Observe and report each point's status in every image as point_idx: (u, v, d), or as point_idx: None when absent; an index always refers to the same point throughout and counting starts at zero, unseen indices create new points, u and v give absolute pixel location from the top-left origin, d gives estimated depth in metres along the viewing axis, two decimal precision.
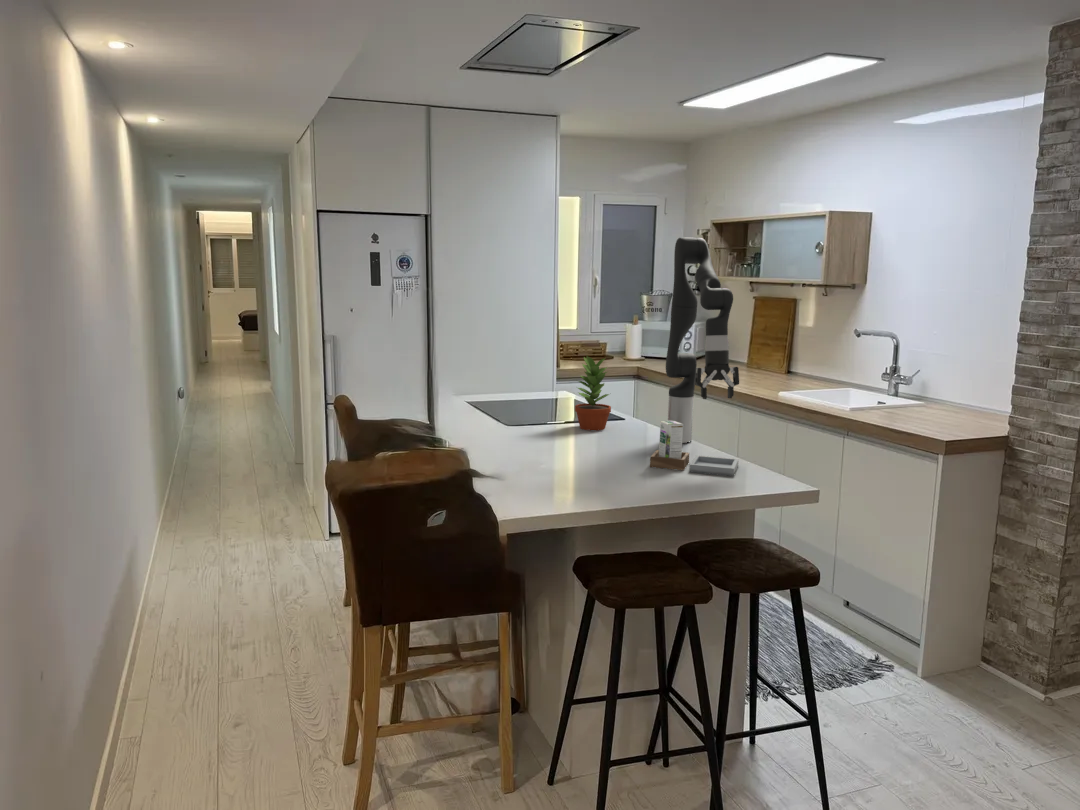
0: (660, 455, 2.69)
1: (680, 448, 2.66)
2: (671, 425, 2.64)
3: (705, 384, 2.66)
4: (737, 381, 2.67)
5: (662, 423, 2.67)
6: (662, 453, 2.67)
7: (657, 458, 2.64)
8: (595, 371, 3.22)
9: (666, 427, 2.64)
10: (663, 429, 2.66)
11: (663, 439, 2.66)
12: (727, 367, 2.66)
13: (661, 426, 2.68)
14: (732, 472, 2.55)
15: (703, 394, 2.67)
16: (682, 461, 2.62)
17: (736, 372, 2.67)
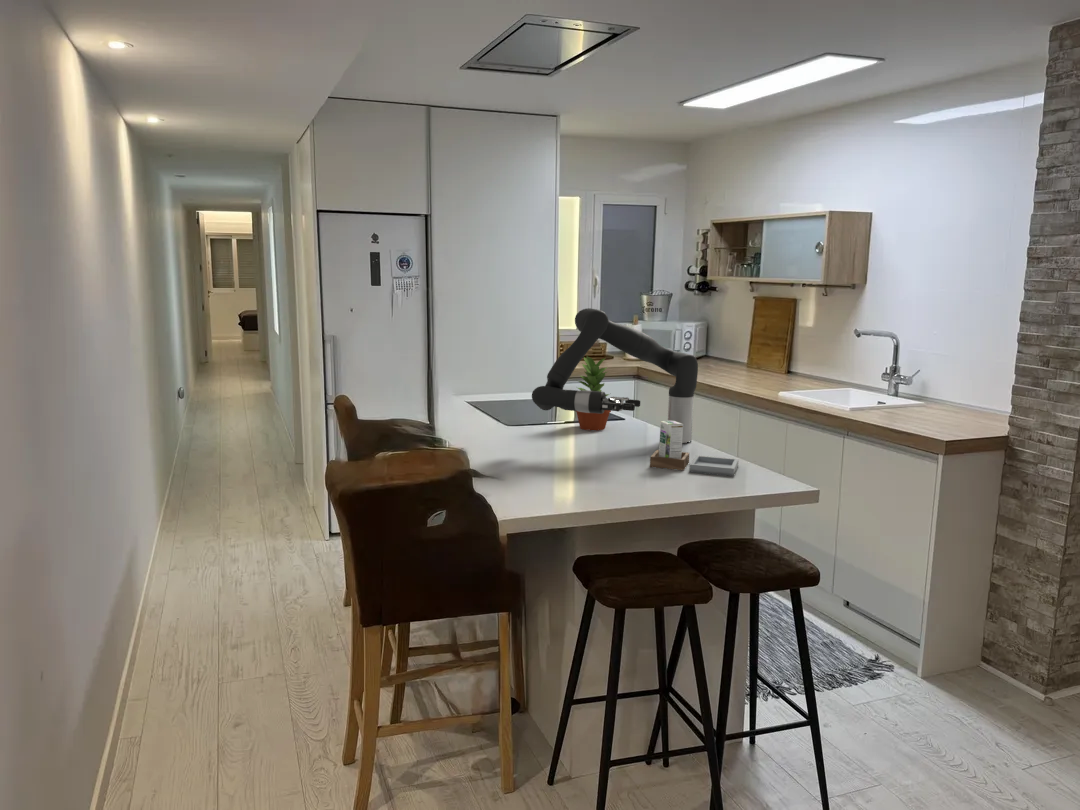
0: (660, 455, 2.69)
1: (680, 448, 2.66)
2: (671, 425, 2.64)
3: None
4: None
5: (662, 423, 2.67)
6: (662, 453, 2.67)
7: (657, 458, 2.64)
8: (595, 371, 3.22)
9: (666, 427, 2.64)
10: (663, 429, 2.66)
11: (663, 439, 2.66)
12: None
13: (661, 426, 2.68)
14: (732, 472, 2.55)
15: None
16: (682, 461, 2.62)
17: None
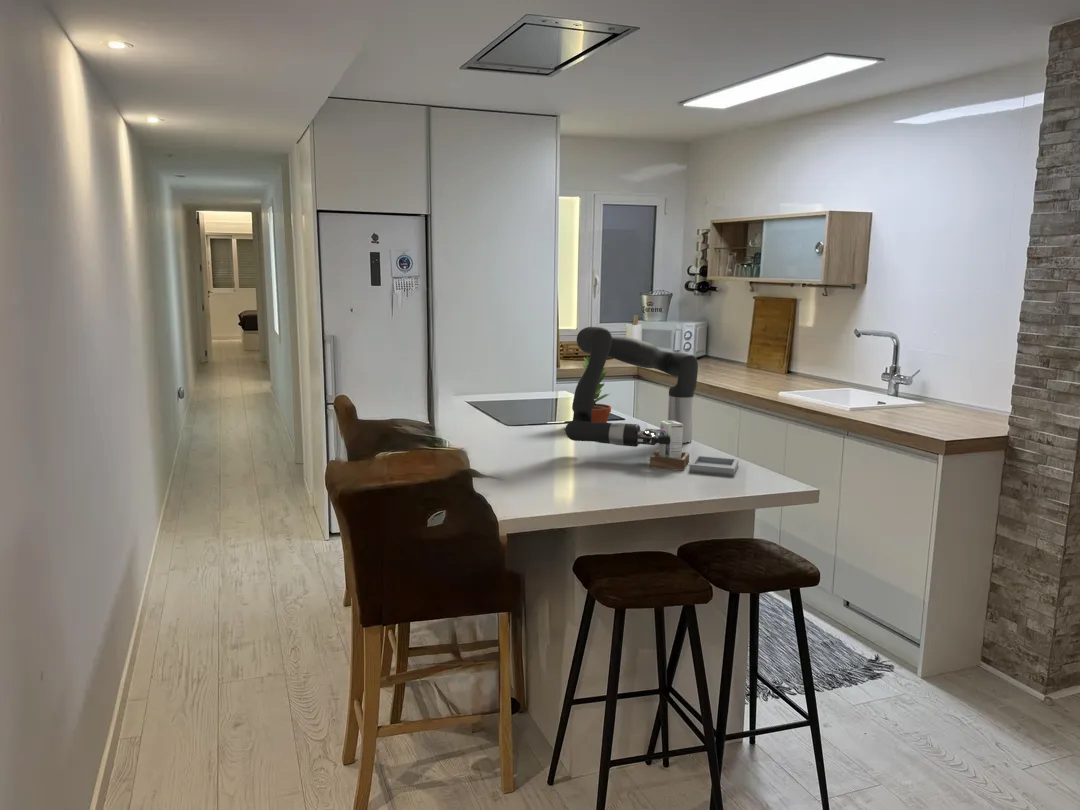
0: (660, 455, 2.69)
1: (680, 448, 2.66)
2: (671, 425, 2.64)
3: None
4: None
5: (662, 423, 2.67)
6: (662, 453, 2.67)
7: (657, 458, 2.64)
8: None
9: (666, 427, 2.64)
10: (663, 429, 2.66)
11: None
12: None
13: (661, 426, 2.68)
14: (732, 472, 2.55)
15: None
16: (682, 461, 2.62)
17: None
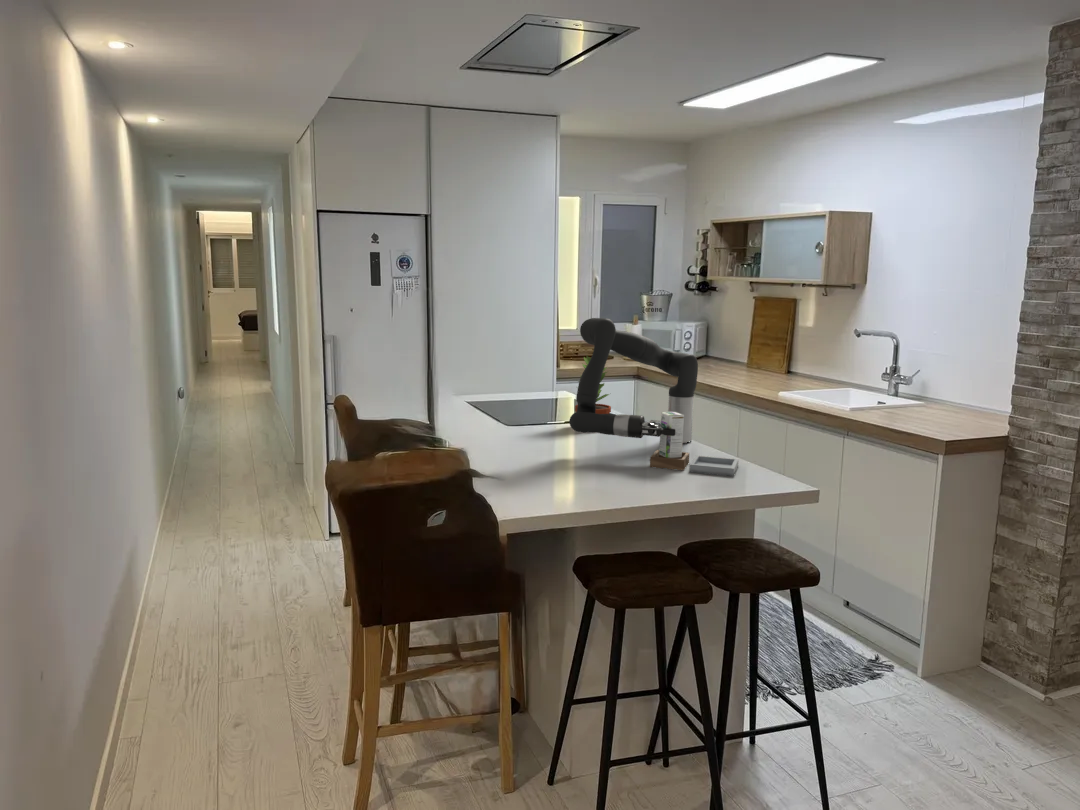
0: (661, 446, 2.68)
1: (681, 439, 2.66)
2: (672, 416, 2.63)
3: None
4: None
5: (663, 414, 2.66)
6: (663, 444, 2.67)
7: (657, 458, 2.64)
8: None
9: (667, 418, 2.64)
10: (664, 420, 2.66)
11: None
12: None
13: (661, 417, 2.67)
14: (732, 472, 2.55)
15: None
16: (682, 461, 2.62)
17: None
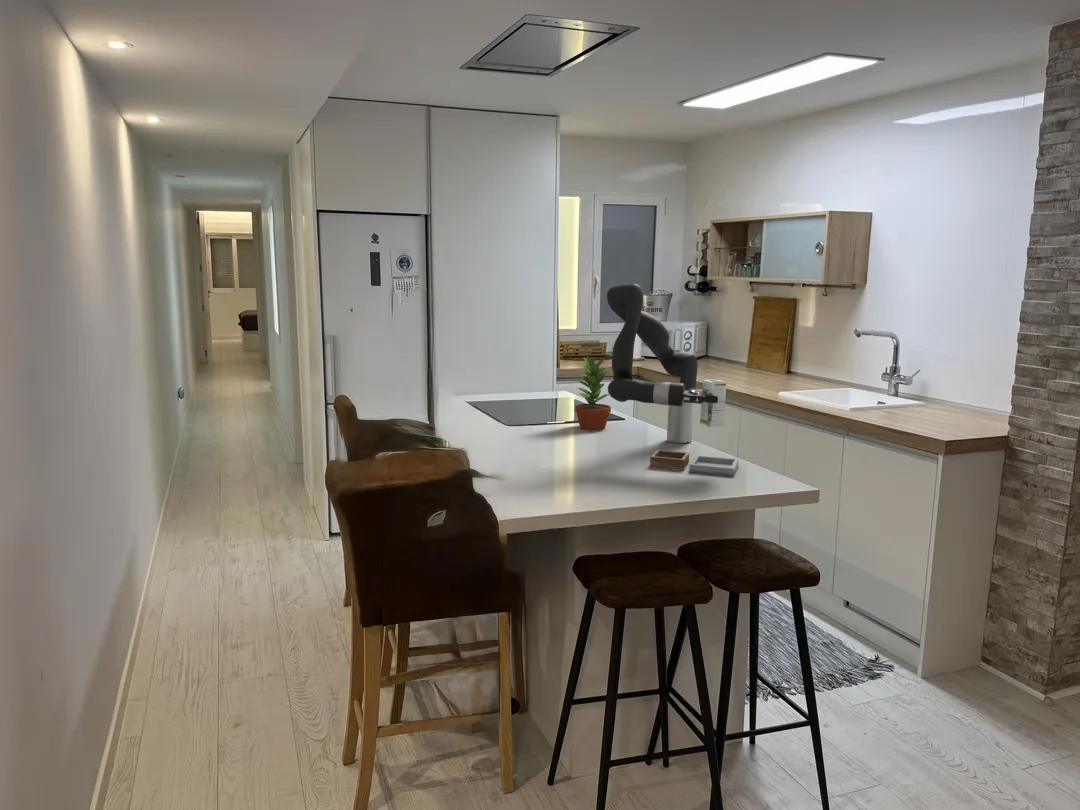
0: (702, 414, 2.62)
1: (723, 407, 2.59)
2: (714, 383, 2.57)
3: None
4: None
5: (705, 381, 2.60)
6: (704, 412, 2.60)
7: (657, 458, 2.64)
8: (595, 371, 3.22)
9: (709, 385, 2.57)
10: (706, 387, 2.59)
11: None
12: None
13: (703, 385, 2.61)
14: (732, 472, 2.55)
15: None
16: (682, 461, 2.62)
17: None
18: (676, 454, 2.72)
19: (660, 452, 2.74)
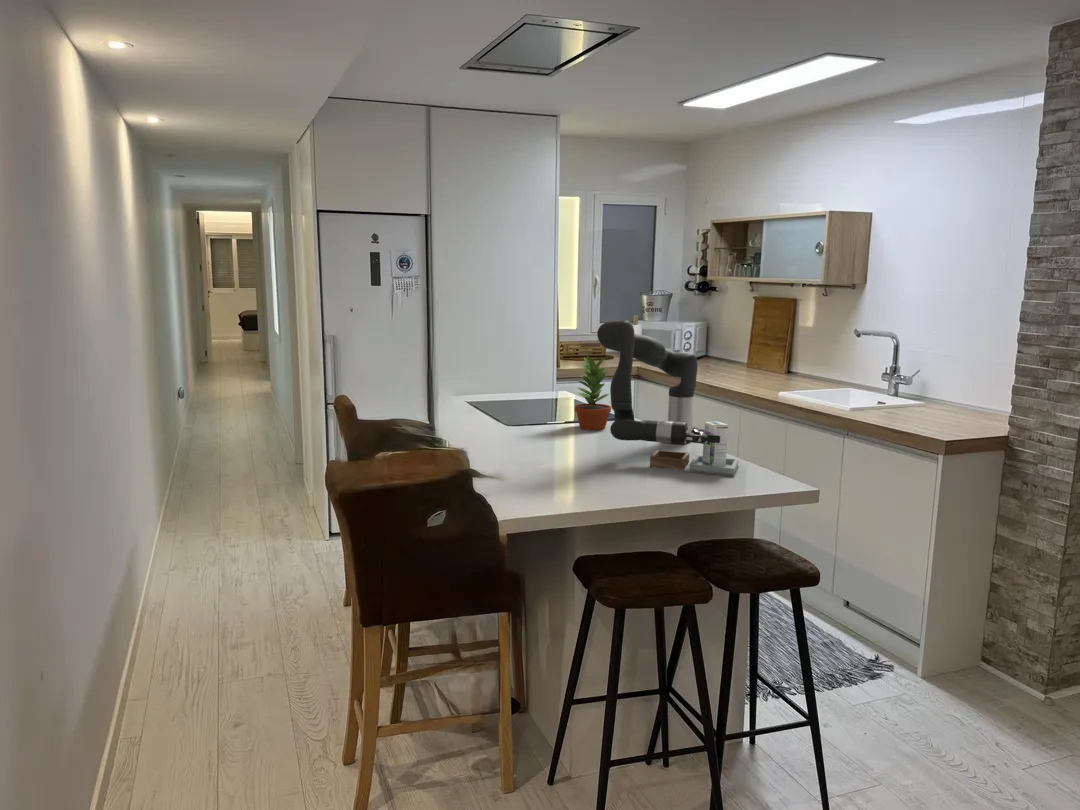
0: (704, 456, 2.64)
1: (725, 450, 2.61)
2: (716, 426, 2.59)
3: None
4: None
5: (707, 424, 2.62)
6: (706, 455, 2.63)
7: (657, 458, 2.64)
8: (595, 371, 3.22)
9: (711, 428, 2.60)
10: (708, 430, 2.61)
11: None
12: None
13: (705, 427, 2.63)
14: (732, 472, 2.55)
15: None
16: (682, 461, 2.62)
17: None
18: (676, 454, 2.72)
19: (660, 452, 2.74)
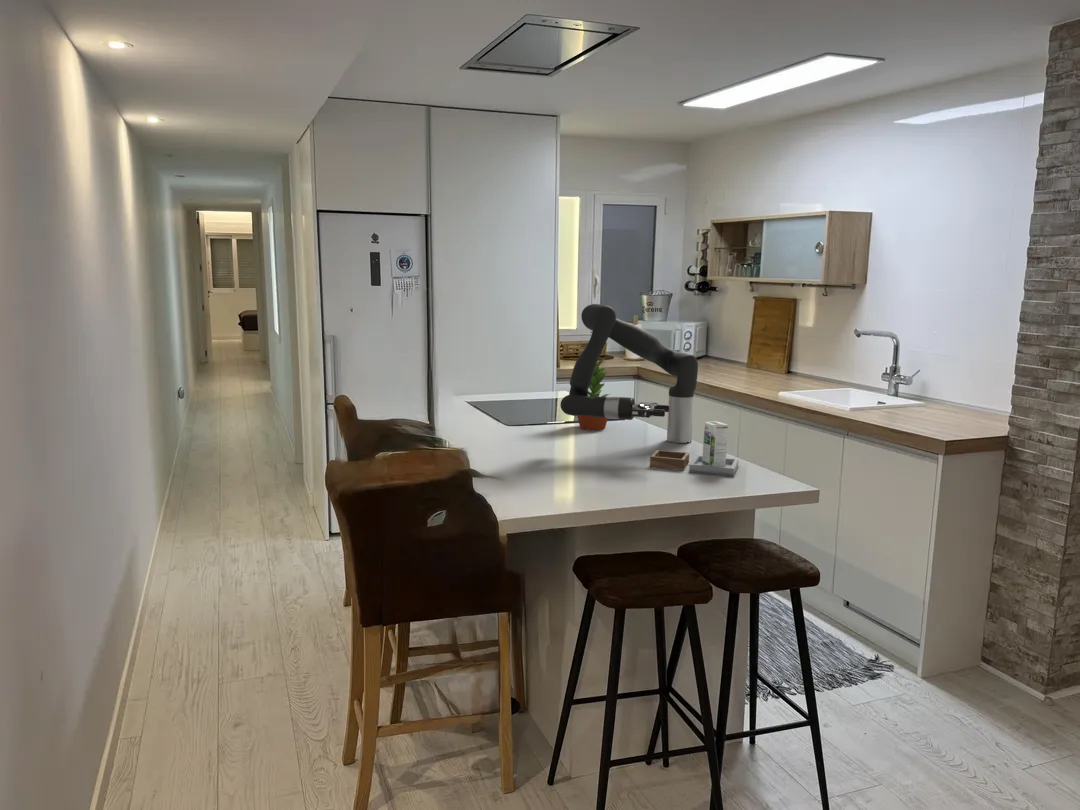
0: (704, 456, 2.64)
1: (725, 450, 2.61)
2: (716, 426, 2.59)
3: None
4: None
5: (706, 424, 2.62)
6: (706, 455, 2.63)
7: (657, 458, 2.64)
8: (595, 371, 3.22)
9: (711, 428, 2.60)
10: (708, 430, 2.61)
11: (707, 441, 2.62)
12: None
13: (705, 427, 2.63)
14: (732, 472, 2.55)
15: None
16: (682, 461, 2.62)
17: None
18: (676, 454, 2.72)
19: (660, 452, 2.74)
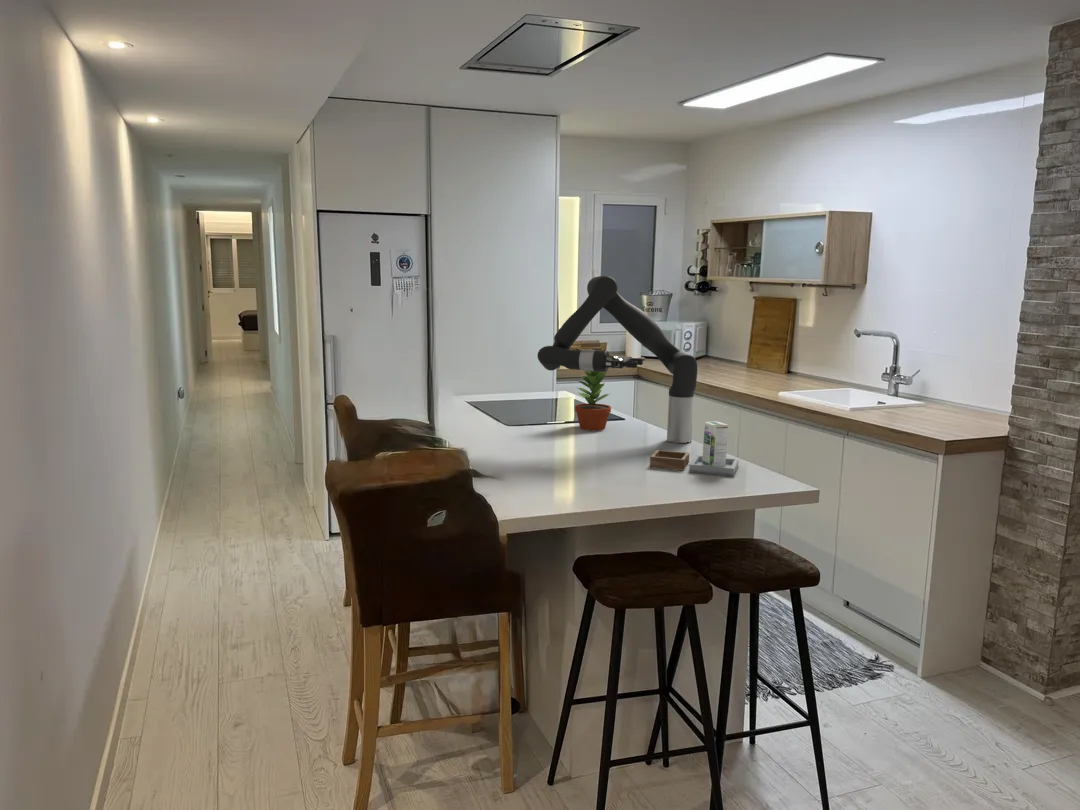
0: (704, 456, 2.64)
1: (725, 450, 2.61)
2: (716, 426, 2.59)
3: None
4: (619, 367, 2.74)
5: (706, 424, 2.62)
6: (706, 455, 2.63)
7: (657, 458, 2.64)
8: None
9: (711, 428, 2.60)
10: (708, 430, 2.61)
11: (707, 441, 2.62)
12: None
13: (705, 427, 2.63)
14: (732, 472, 2.55)
15: None
16: (682, 461, 2.62)
17: None
18: (676, 454, 2.72)
19: (660, 452, 2.74)
